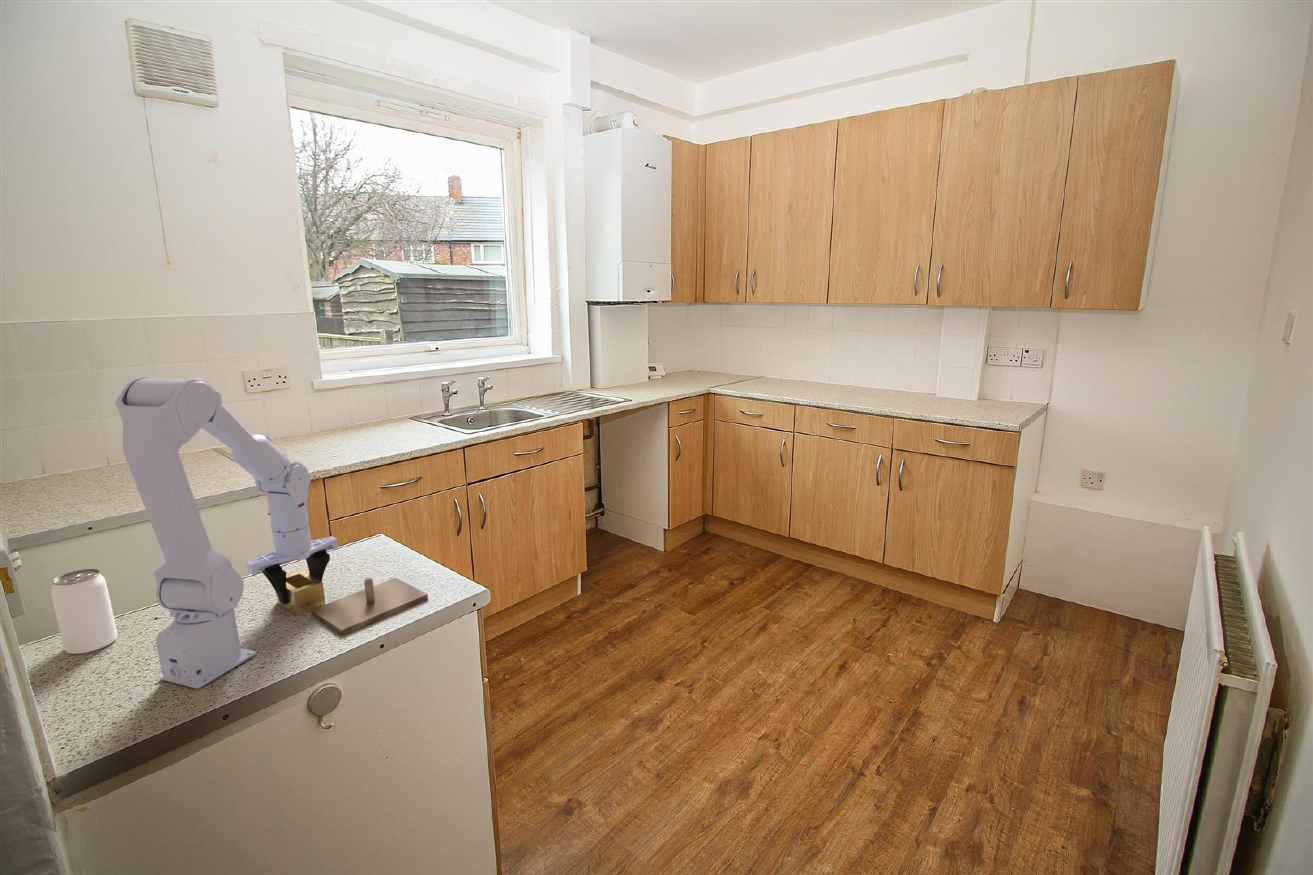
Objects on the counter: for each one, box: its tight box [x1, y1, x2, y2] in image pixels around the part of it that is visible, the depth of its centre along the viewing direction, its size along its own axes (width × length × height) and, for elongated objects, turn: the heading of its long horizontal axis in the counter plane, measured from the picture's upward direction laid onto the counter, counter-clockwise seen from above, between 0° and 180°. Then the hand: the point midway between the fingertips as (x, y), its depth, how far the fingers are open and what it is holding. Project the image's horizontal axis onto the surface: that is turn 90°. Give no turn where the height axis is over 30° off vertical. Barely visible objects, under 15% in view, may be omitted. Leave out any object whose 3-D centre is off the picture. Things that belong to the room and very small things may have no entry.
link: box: [275, 570, 327, 617], centre depth 114 cm, size 8×5×4 cm, turn 52°
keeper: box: [310, 577, 429, 636], centre depth 113 cm, size 16×11×6 cm
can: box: [50, 568, 118, 656], centre depth 100 cm, size 6×6×12 cm
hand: (300, 596), depth 114 cm, fingers closed on link, 5 cm apart
